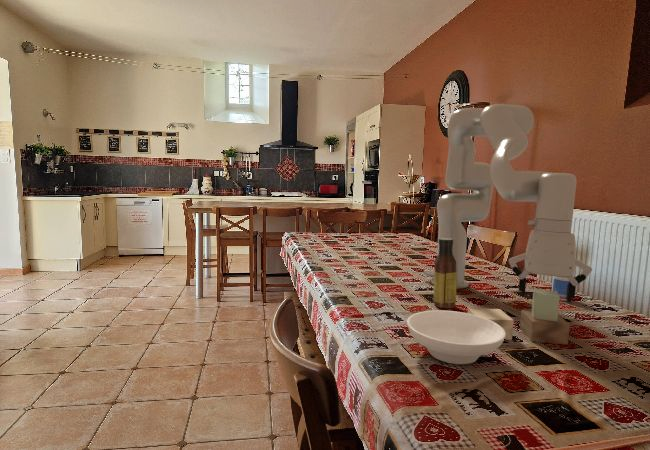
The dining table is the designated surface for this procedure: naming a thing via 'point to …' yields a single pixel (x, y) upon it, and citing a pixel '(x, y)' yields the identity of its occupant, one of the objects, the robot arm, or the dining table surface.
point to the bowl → (455, 335)
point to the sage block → (545, 304)
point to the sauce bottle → (445, 275)
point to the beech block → (495, 319)
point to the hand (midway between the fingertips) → (545, 297)
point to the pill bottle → (560, 286)
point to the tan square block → (544, 329)
